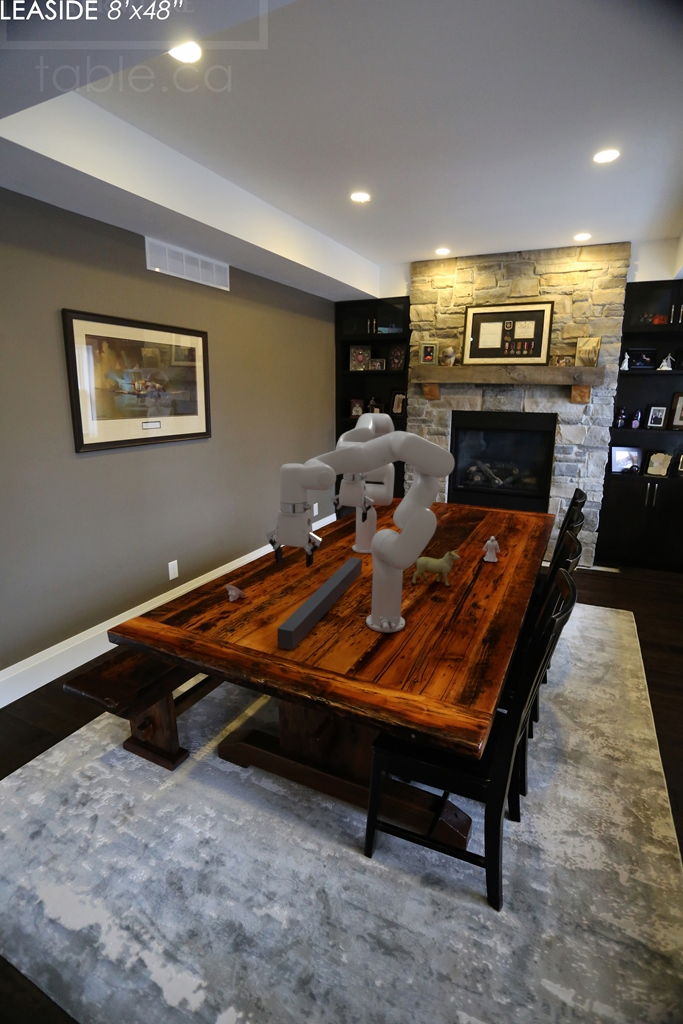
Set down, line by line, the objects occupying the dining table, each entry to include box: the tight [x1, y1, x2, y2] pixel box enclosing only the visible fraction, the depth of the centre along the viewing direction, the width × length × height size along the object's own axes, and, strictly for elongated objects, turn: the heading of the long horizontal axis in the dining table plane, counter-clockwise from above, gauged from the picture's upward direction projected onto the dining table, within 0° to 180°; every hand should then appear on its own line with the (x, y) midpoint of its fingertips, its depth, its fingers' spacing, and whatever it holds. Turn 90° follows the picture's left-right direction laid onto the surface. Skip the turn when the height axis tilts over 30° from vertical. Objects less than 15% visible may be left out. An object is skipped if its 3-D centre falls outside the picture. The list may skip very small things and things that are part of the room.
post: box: [276, 557, 363, 651], centre depth 176 cm, size 68×5×6 cm, turn 161°
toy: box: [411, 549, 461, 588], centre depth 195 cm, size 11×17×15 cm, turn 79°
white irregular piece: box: [224, 584, 247, 602], centre depth 178 cm, size 8×5×8 cm
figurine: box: [482, 535, 501, 563], centre depth 223 cm, size 8×8×12 cm
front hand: (294, 563), depth 146 cm, fingers open, 9 cm apart
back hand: (352, 520), depth 196 cm, fingers open, 9 cm apart
